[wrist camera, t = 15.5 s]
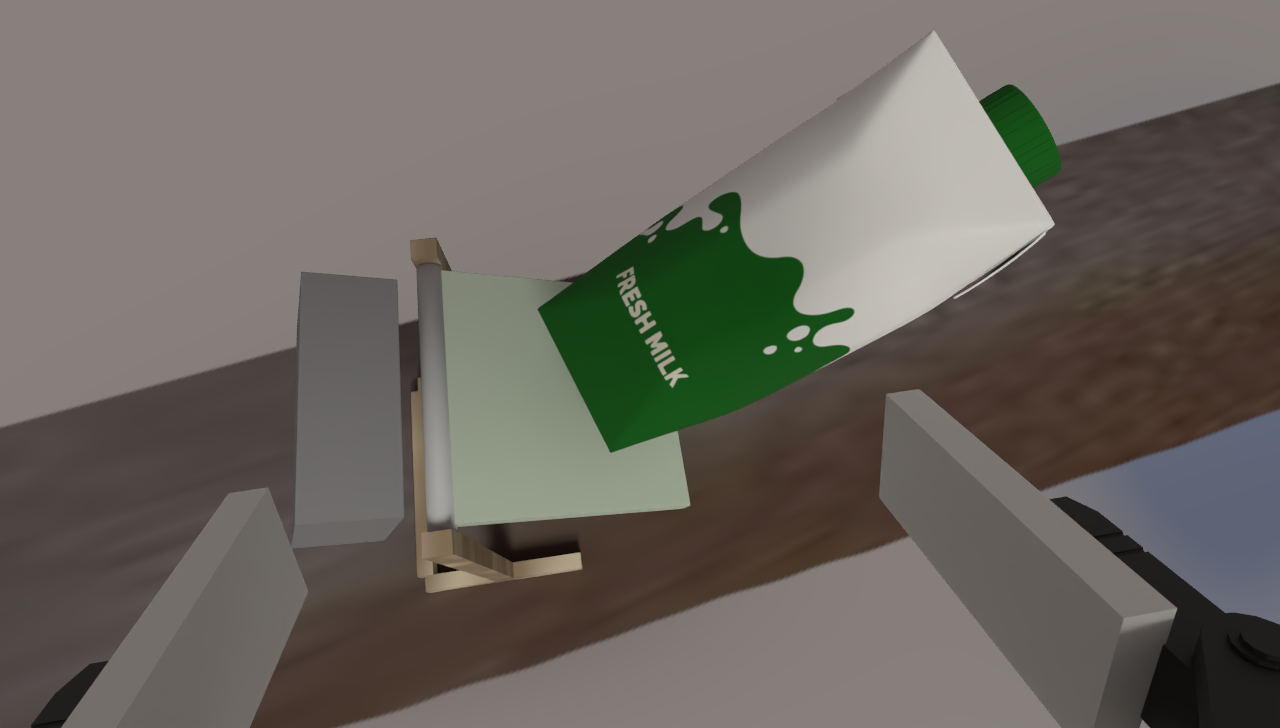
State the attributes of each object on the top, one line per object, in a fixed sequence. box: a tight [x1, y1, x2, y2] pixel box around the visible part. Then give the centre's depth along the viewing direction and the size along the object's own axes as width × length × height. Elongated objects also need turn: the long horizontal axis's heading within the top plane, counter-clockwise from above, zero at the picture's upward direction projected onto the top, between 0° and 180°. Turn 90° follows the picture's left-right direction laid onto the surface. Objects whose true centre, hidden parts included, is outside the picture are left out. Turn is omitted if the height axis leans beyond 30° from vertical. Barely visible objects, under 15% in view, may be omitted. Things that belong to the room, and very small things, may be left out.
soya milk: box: [537, 30, 1061, 453], centre depth 28 cm, size 9×9×20 cm
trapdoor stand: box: [411, 238, 583, 593], centre depth 38 cm, size 10×15×19 cm
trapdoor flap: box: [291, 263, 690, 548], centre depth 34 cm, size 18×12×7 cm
